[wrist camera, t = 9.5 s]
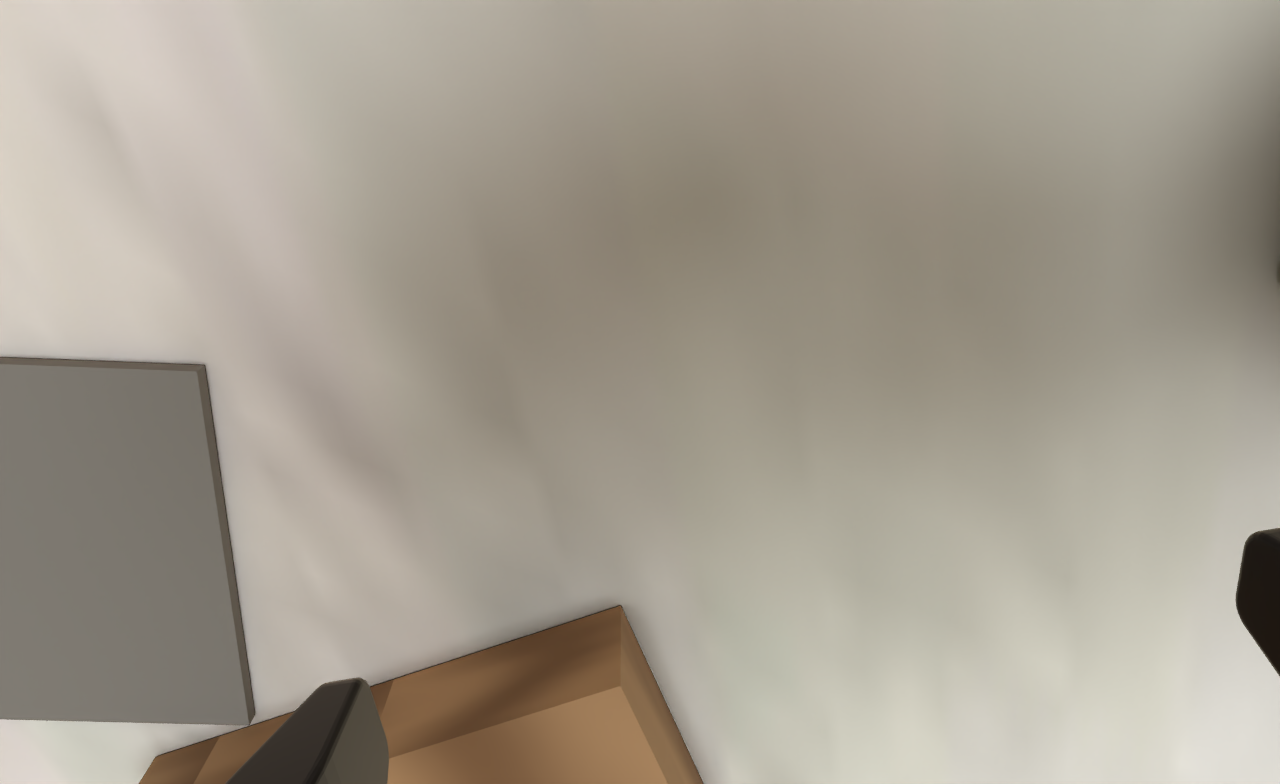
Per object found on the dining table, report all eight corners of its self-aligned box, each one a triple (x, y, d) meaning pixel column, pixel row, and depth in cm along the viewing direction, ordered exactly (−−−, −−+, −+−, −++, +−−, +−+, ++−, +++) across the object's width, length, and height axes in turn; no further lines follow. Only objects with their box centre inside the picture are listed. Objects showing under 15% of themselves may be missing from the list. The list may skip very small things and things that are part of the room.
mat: (204, 365, 20) (196, 371, 20) (255, 714, 24) (249, 725, 24) (-255, 347, 20) (-271, 353, 20) (-130, 705, 24) (-142, 715, 24)
